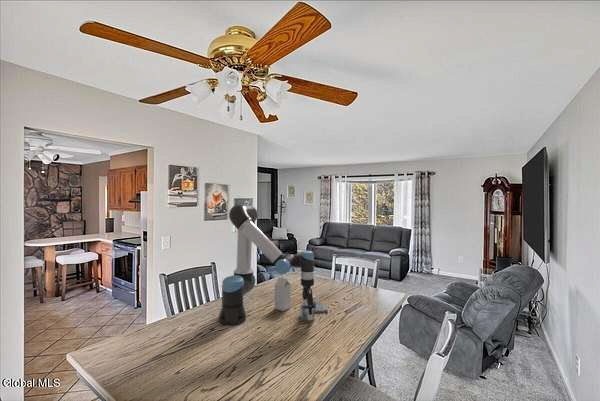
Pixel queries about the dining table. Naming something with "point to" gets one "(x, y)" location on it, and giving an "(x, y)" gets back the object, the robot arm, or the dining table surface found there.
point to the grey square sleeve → (304, 312)
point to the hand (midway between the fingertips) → (307, 315)
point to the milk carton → (282, 294)
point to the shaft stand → (318, 306)
